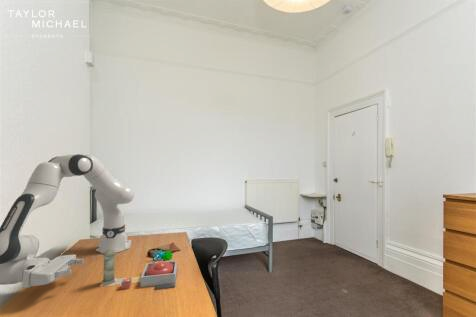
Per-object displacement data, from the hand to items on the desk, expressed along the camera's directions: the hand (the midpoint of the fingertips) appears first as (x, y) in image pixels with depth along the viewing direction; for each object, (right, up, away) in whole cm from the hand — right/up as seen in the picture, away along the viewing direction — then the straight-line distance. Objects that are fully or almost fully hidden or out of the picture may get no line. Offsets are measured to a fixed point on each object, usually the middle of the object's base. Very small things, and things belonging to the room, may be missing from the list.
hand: (77, 266), depth 93 cm
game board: (+24, -9, +5) cm, 26 cm away
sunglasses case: (+24, -11, +38) cm, 46 cm away
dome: (+32, -8, +7) cm, 34 cm away
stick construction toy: (+25, -10, +28) cm, 39 cm away
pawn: (+12, -8, +2) cm, 14 cm away
